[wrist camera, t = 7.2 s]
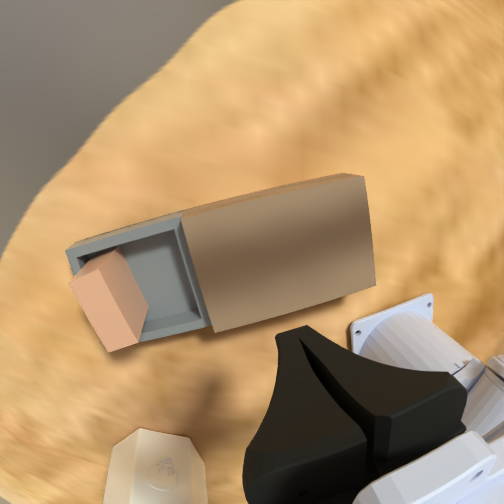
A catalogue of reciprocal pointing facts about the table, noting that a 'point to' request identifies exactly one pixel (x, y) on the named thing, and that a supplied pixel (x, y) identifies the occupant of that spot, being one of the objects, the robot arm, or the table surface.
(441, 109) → the table surface
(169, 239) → the tray
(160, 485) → the jar
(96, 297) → the peach flat square block
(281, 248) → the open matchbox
